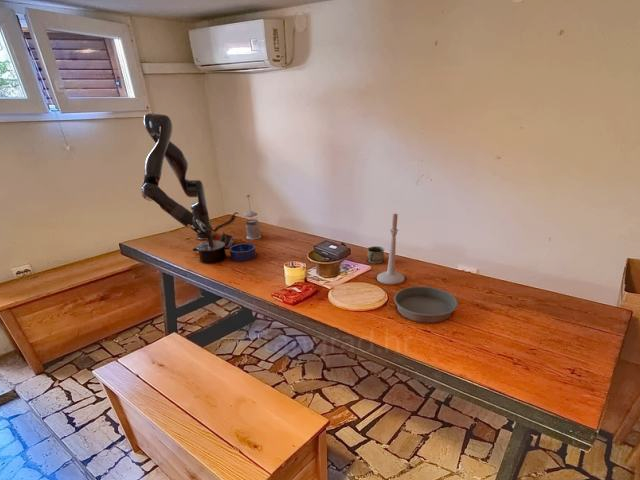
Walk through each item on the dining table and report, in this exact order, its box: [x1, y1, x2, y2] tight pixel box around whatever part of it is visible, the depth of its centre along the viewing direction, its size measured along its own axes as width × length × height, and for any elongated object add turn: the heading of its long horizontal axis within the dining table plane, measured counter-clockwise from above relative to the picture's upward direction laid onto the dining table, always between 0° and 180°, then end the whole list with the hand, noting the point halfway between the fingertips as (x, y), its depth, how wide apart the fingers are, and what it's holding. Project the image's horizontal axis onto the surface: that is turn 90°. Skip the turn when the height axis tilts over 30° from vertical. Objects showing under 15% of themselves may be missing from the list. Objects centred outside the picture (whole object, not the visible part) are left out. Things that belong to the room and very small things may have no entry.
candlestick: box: [376, 213, 405, 285], centre depth 164 cm, size 13×13×30 cm
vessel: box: [366, 245, 385, 264], centre depth 189 cm, size 12×9×6 cm
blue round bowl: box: [228, 243, 257, 262], centre depth 199 cm, size 14×14×5 cm
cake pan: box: [393, 285, 459, 324], centre depth 146 cm, size 25×25×4 cm
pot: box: [192, 246, 231, 265], centre depth 196 cm, size 14×19×7 cm
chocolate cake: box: [219, 230, 235, 247], centre depth 216 cm, size 10×7×12 cm
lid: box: [196, 229, 225, 251], centre depth 192 cm, size 15×15×10 cm
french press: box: [243, 194, 262, 240], centre depth 220 cm, size 10×12×25 cm
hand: (210, 235), depth 191 cm, fingers open, 8 cm apart
